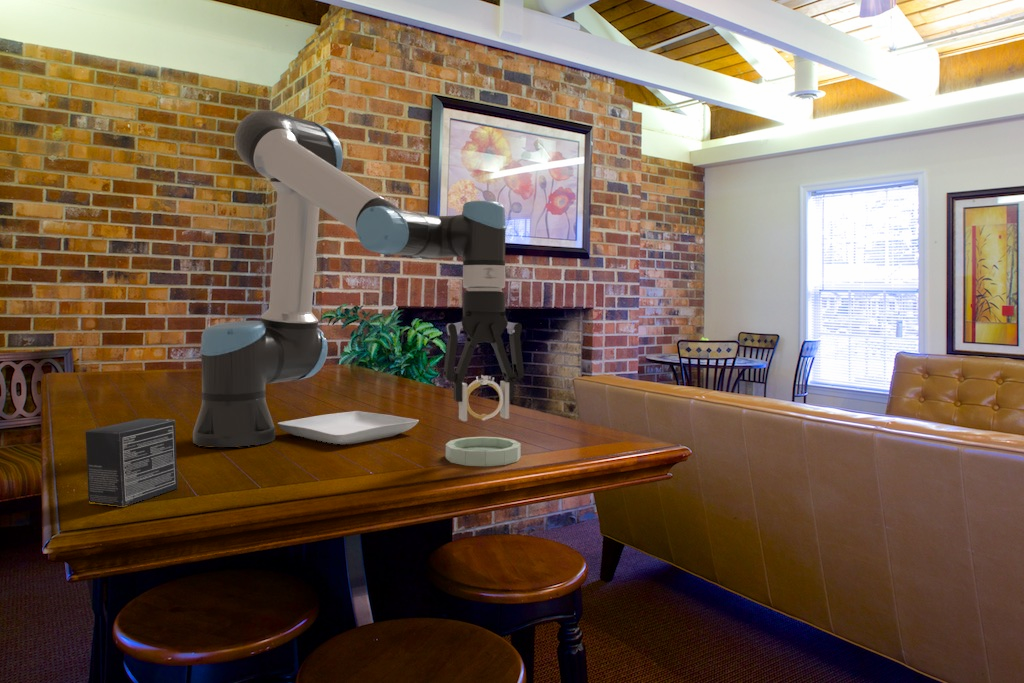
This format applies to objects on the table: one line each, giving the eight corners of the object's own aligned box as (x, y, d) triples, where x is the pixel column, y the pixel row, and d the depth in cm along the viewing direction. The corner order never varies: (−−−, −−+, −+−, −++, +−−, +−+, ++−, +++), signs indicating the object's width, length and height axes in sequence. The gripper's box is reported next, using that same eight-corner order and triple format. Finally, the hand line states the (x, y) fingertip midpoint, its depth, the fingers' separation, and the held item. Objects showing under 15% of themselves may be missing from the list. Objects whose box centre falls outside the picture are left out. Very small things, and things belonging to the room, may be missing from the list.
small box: (144, 485, 110) (142, 416, 109) (179, 489, 108) (178, 419, 107) (84, 504, 100) (82, 428, 99) (123, 508, 98) (121, 431, 97)
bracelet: (503, 418, 132) (503, 374, 131) (503, 421, 128) (504, 376, 128) (464, 418, 131) (464, 374, 131) (464, 421, 128) (464, 376, 127)
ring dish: (458, 468, 122) (458, 453, 122) (438, 452, 134) (438, 439, 134) (530, 463, 126) (530, 448, 126) (505, 448, 139) (505, 435, 138)
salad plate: (274, 437, 149) (274, 420, 149) (356, 423, 165) (356, 408, 165) (338, 452, 136) (338, 434, 135) (421, 435, 152) (421, 419, 152)
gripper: (434, 289, 121) (434, 425, 123) (544, 290, 128) (543, 419, 130) (423, 290, 128) (424, 418, 130) (529, 290, 135) (528, 412, 137)
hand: (483, 418), depth 130 cm, fingers closed on bracelet, 7 cm apart
